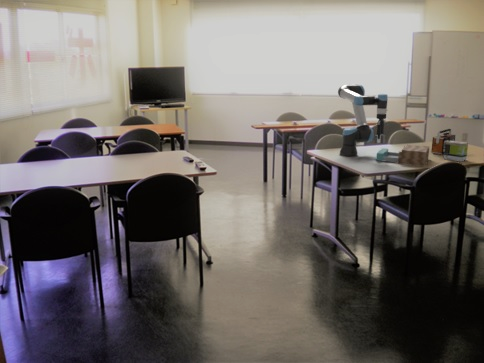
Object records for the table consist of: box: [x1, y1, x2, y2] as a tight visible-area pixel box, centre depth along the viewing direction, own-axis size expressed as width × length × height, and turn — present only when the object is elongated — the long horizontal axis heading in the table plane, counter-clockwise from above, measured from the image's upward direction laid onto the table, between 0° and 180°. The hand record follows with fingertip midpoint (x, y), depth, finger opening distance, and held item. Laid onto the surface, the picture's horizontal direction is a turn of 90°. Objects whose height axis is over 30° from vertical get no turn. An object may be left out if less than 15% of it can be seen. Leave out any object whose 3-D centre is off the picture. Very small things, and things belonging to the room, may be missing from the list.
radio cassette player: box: [430, 128, 456, 155], centre depth 441 cm, size 29×10×20 cm, turn 138°
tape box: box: [374, 134, 386, 144], centre depth 402 cm, size 7×5×6 cm
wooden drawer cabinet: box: [397, 144, 430, 167], centre depth 403 cm, size 20×28×11 cm
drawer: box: [375, 147, 399, 163], centre depth 410 cm, size 23×24×6 cm
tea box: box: [443, 140, 469, 162], centre depth 411 cm, size 15×10×15 cm, turn 42°
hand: (379, 142), depth 403 cm, fingers closed on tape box, 5 cm apart
